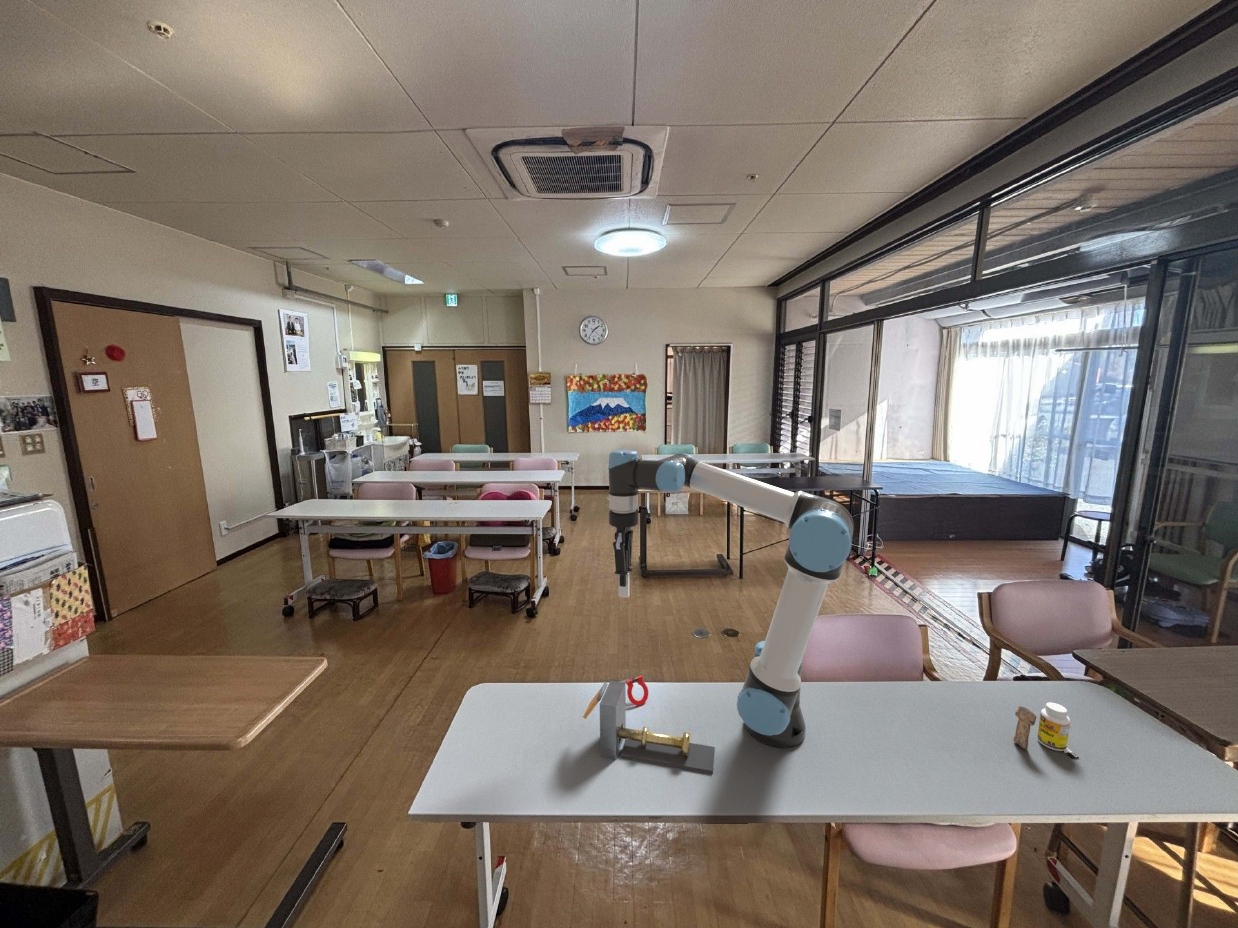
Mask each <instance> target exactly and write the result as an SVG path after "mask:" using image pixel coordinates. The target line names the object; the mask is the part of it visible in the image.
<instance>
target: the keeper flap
mask: <svg viewBox="0 0 1238 928" xmlns="http://www.w3.org/2000/svg"><path fill="white" fill-rule="evenodd" d="M608 685H609V683H607V682H604V683H603V684H602V686H601V687H600V689H599V690H598V691H597V693H596V694H595V695H594V697H593V698H592V699H591V701H590V702H589V704H588V706H587V708H586V710H585V712H584V714H583V716H582V718H583V719H585V720H586V719H587V718H588V717H589V715H590V714H591V712H592V711H594V708H595V707H596V706H597V704H598V703H599V702H601V700H602V698H603V696H604V694H605V692H606V689H607V687H608Z"/></svg>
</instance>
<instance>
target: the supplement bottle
mask: <svg viewBox="0 0 1238 928" xmlns="http://www.w3.org/2000/svg"><path fill="white" fill-rule="evenodd" d="M1038 721H1039V722H1038V729H1037V738H1036V739H1037V740H1038V742H1039V743H1040V744H1041V745H1043V747H1046V748H1048V749H1050V750H1052V751H1057V752H1063V750H1065V749H1066V748H1068V747H1067V746H1068V739H1069V733H1070V727H1071V718H1070V717H1069V716H1068V710H1067V708H1066V707H1064V706H1063V705H1061V704H1058V703H1055V702H1050V701H1049V702H1046V703H1045V707H1044V708H1042V709H1041V711H1040V714H1039V720H1038Z"/></svg>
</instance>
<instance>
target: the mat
mask: <svg viewBox="0 0 1238 928" xmlns="http://www.w3.org/2000/svg"><path fill="white" fill-rule="evenodd" d="M715 749H716V747H715V746H711V745H705V744H700V743H693V742H690V749H689V756H685V755H682V749H681V748H675V747H669V746H663V745H657V744H651V743H647V747H642V746H641V742H640V741H634V740H628V739H625V742H624V745H623V748H622V751H621V754H620V758H622V759H627V760H633V761H638V762H639V761H640V762H644V763H650V764H655V765H660V766H661V765H662V766H667V767H673V768H677V769H684V770H689V771H694V772H700V773H706V774H710V775H713V773H714V764H715V763H714V762H715V752H716V751H715Z"/></svg>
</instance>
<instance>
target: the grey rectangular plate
mask: <svg viewBox="0 0 1238 928" xmlns="http://www.w3.org/2000/svg"><path fill="white" fill-rule="evenodd" d="M626 694H627V693H626V683H623V682H620V681H614V680H609V683H608V685H607V687H606V689H605V691H604V694H603V696H602V698H601V700H600V701H599V702H600V703H599V745H600V746H599V747H600V748H599V749H600V751H599V753H600V755H599V757H600V758H604V759H610V760H617V759H618V755H619V753H620V751H621V750H620V749H621V748H622V747H621V746H622V744H623V740H624V739H622V738H619V730H620V728H621V727H622V728H627V725H626V724H627V723H626V721H627V719H626V714H627V713H626V696H627V695H626Z"/></svg>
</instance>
